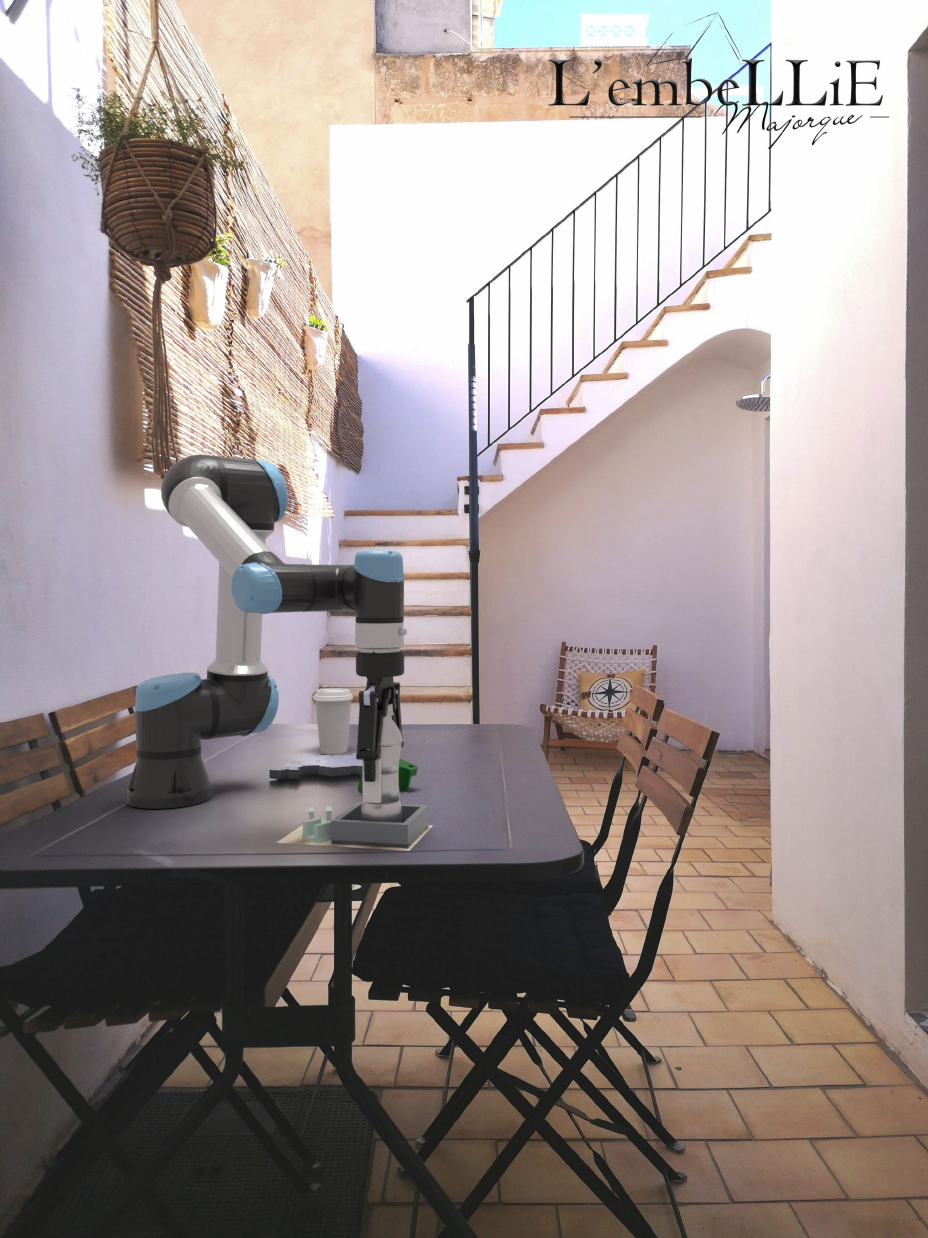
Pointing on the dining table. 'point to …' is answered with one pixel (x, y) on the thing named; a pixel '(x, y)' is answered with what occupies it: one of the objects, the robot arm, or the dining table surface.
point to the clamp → (404, 776)
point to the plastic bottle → (387, 776)
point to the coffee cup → (333, 719)
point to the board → (297, 834)
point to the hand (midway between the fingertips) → (381, 795)
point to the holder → (379, 828)
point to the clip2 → (316, 830)
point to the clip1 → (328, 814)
